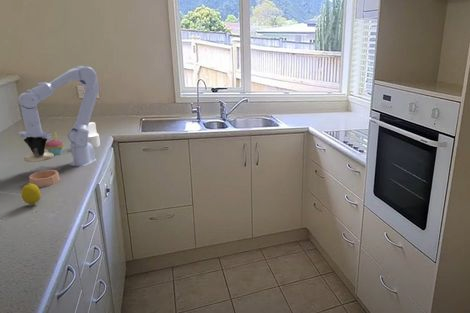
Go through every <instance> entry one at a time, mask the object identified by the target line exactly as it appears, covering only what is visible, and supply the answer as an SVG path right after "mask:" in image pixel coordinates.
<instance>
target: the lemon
mask: <svg viewBox="0 0 470 313" xmlns="http://www.w3.org/2000/svg"><path fill="white" fill-rule="evenodd" d="M41 196H42V194H41V190H40V187H37V186H36V185H35V184H30V182H28V183H27V184H25V185H24V186H23V187H22V189H21V198H22V200H23V202H24V203H26V204H28V205H32V206H34V205H35V204H36V203H38V202H39V200H40V199H41Z"/></svg>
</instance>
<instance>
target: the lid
mask: <svg viewBox="0 0 470 313" xmlns="http://www.w3.org/2000/svg"><path fill="white" fill-rule="evenodd" d="M33 151H34V154H33V153H31V154H28V155H25V156H24V157H23V159H24V161H25V162H28V163H37V162H38V163H39V162H44V161H48V160H51V159H52V158H54V157H55V155H54V154H53V153H51V152H49V151H44V154H42V155H39V153H38V150H37V148H36V149H33Z"/></svg>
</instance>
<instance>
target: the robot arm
mask: <svg viewBox="0 0 470 313" xmlns="http://www.w3.org/2000/svg"><path fill="white" fill-rule="evenodd" d="M71 81H78V82H79V83H81V85H82V86H83V88H85V90H84V94H83V98H82V101H81V104H80V106H79V111H78V113H77V116H76V120H75V123H73V125H72V127H71V128H70V130H69V131H68V132H67V139H68V141H69V142H70V144H69V145H70V151H71V156H72V161H73V162H70V163H69V164H68V166H75V167H77V166H78V167H86V166H87V165H89V164H91V163H94V162H95V161H97V158H96V157H95V156H96V155H95V147H94V148H93V146H92V144H91V143H88V141H89V137H88V133H89V129H88V124H89V123H90V121H91V117H92V113H93V112H94V109H95V108H94V107H95V104H96V102H97V98H98V94H99V91H100V86H99V82H98V74H97V73H96V71H95V69H93V68H92V67H91V66H84V65H77V66H75V67H73V68H71V69H68V70H67V71H66V72H64V73H62V74H61V75H59V76H57V77H56V78H55V79H53V80H51V81H50V82H45V81H43V82H37V86H35V87H33V88H31V89H27V90H26V92H22V93H20V94H19V96H18V97H17V103H18V104H19V105H20V109H21V115H22V120H23V124H24V128H25V131H19V132H18V137H19V138H23V137H25V138H24V139H23V141H24V142H25V143H26V145H27V146H28V148H29V150H31V152H32V154H34V151H33V149H36V148H37V150H38V153H39V155H42V154H44V152H45V150H46V149H45V144H46V143H47V142H48V140H50V139H52V133H51V132H50V133H49V132H46V131H43V129H42V124H41V120H40V114H39V110H38V104H39V103H41V102H43V101H44V100H46V99H47V98H49V97H51V96H52V95H54V92H55V90H57V89H58V88H60V87H62V86H64V85H66V84H68V83H70V82H71Z"/></svg>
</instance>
